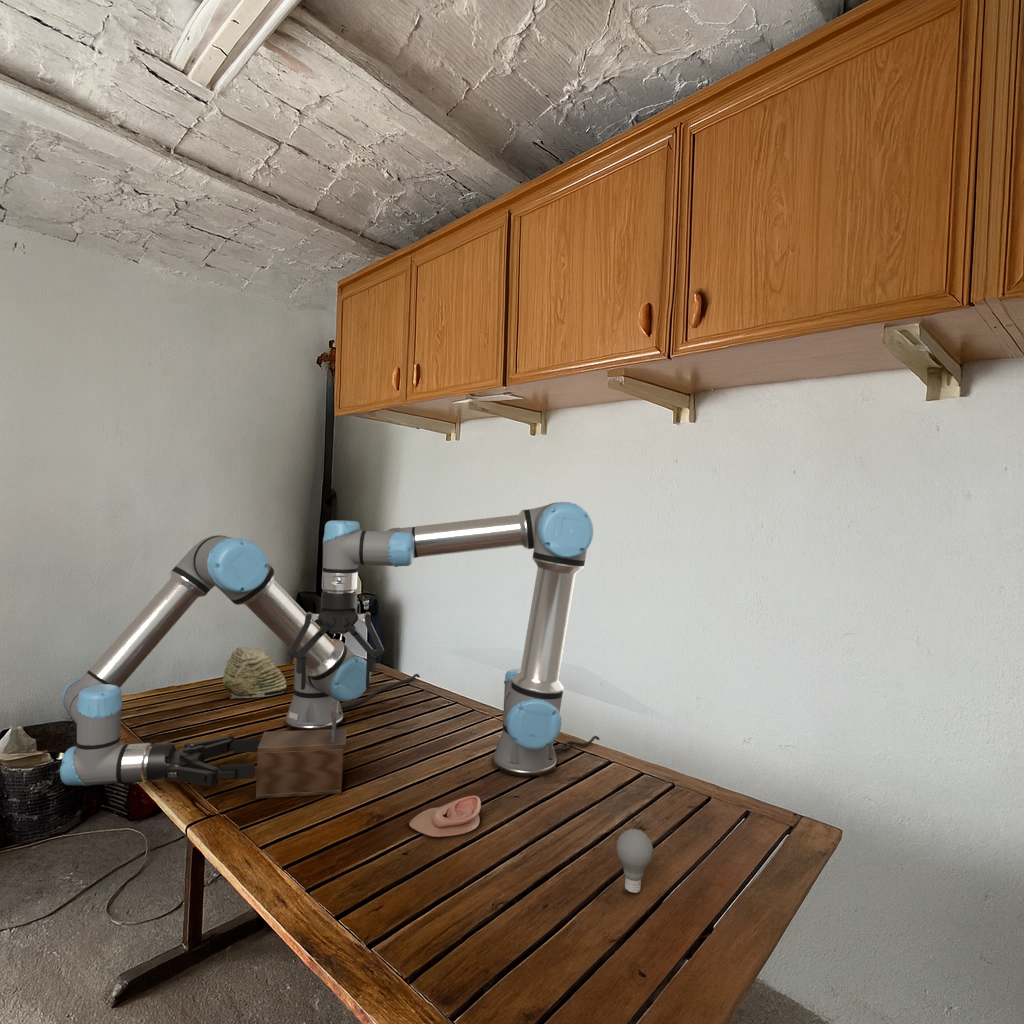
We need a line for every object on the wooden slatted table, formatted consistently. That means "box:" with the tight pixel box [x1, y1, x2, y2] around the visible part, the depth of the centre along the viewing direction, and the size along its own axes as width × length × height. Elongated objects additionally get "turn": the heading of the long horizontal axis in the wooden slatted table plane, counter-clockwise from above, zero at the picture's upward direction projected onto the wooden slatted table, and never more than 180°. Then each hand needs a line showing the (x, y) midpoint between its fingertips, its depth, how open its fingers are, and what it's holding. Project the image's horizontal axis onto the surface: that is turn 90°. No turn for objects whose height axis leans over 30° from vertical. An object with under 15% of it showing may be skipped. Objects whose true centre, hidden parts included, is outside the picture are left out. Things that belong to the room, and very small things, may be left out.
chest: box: [255, 749, 345, 800], centre depth 138 cm, size 17×9×10 cm, turn 103°
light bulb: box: [615, 828, 654, 894], centre depth 106 cm, size 6×6×10 cm
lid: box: [256, 700, 347, 753], centre depth 138 cm, size 18×9×8 cm, turn 103°
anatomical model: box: [408, 795, 482, 838], centre depth 125 cm, size 13×4×12 cm
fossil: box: [222, 646, 288, 699], centre depth 198 cm, size 9×18×15 cm, turn 132°
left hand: (260, 757), depth 136 cm, fingers open, 13 cm apart
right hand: (335, 687), depth 139 cm, fingers open, 13 cm apart
